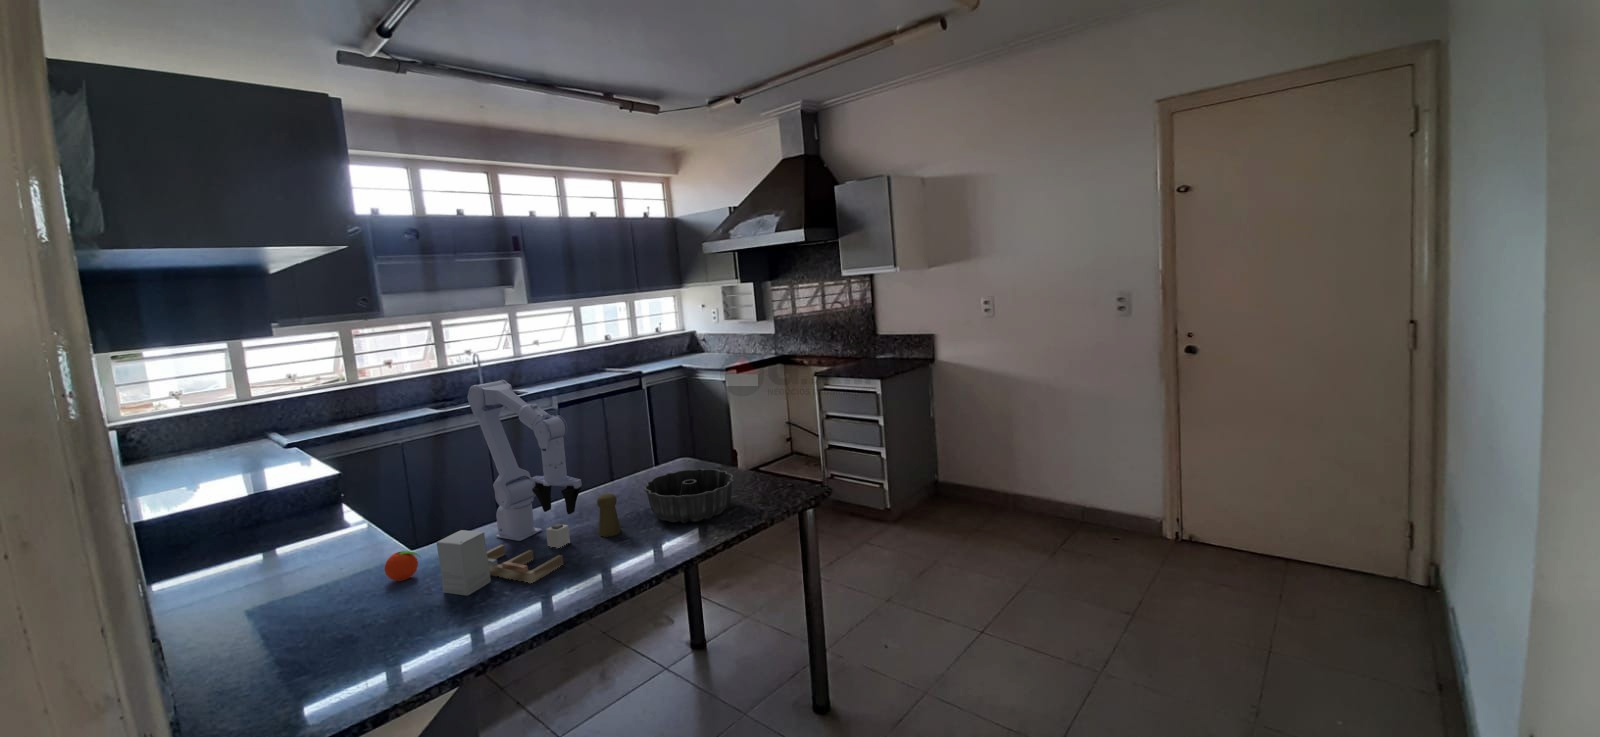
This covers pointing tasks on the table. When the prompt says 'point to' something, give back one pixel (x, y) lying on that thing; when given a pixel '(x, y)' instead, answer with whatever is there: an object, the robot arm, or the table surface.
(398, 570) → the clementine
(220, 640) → the table surface
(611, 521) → the cork
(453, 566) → the supplement box
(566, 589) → the table surface
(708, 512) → the bundt pan
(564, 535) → the plug
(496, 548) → the socket board
